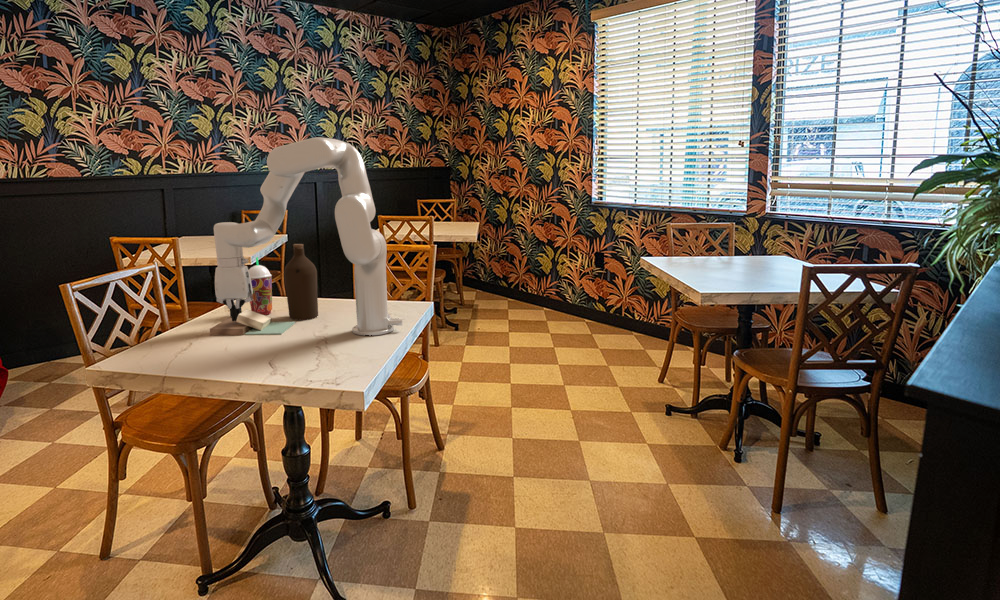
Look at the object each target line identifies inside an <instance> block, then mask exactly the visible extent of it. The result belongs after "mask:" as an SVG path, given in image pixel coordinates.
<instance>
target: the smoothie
mask: <svg viewBox="0 0 1000 600" xmlns="http://www.w3.org/2000/svg"><path fill="white" fill-rule="evenodd" d="M255 262H256V263H255V264H256V265H253V266H251V267H250V268H248V270H249V274H250V278H251V283H252V289H253V294H252V295H251V296H252V301H250V302H249V304H250V310H251V311H254V312H256V313H259V314H262V315H265V316H268V315H270V314H271V313H272V311H273V292H272V290H273V287H272V286H273V285H272V284H273V282H272V280H273V279H272V276H273V275H272V274H271V272H270V271H269V269H268V268H267V267H266V266H265V265H262V264H259V257H258V256H256V257H255Z"/></svg>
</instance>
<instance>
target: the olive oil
mask: <svg viewBox="0 0 1000 600" xmlns="http://www.w3.org/2000/svg"><path fill="white" fill-rule="evenodd" d="M292 246H293V256H292V257H291V259H290V260H289V261H288V263H286V265H285V266H284V271H283V277H284V284H285V292H286V293H285V294H286V299H287V308H288V316H289V319H290V320H294V321H306V320H307V319H308V320H312V318H313V319H316V318H317V316H319V304H318V303H319V299H318V271H317V268H316V265H315V263H313V262H312V261H311V260H310V259H309V258H308V257H306V255H305V248H304V243H294V244H292ZM315 317H316V318H315ZM308 320H307V321H308Z"/></svg>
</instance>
